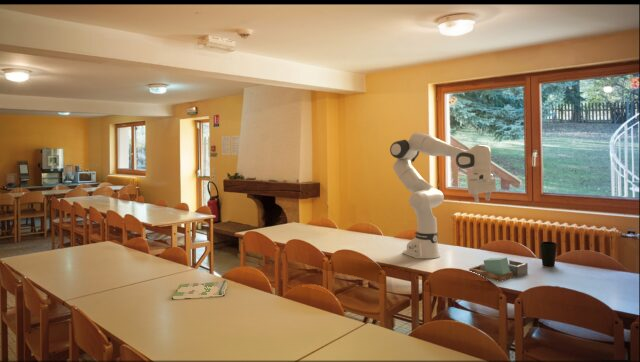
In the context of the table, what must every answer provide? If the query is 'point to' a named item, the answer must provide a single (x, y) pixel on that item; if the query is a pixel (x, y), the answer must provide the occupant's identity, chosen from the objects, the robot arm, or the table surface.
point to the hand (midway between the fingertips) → (482, 201)
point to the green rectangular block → (495, 266)
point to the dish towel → (219, 284)
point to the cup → (548, 253)
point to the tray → (491, 274)
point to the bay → (518, 267)
